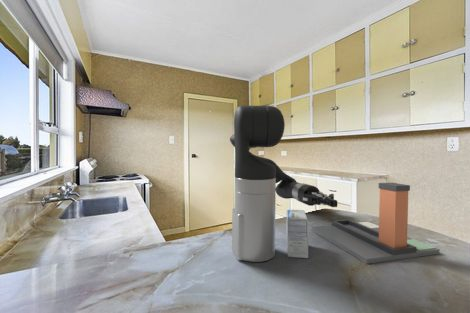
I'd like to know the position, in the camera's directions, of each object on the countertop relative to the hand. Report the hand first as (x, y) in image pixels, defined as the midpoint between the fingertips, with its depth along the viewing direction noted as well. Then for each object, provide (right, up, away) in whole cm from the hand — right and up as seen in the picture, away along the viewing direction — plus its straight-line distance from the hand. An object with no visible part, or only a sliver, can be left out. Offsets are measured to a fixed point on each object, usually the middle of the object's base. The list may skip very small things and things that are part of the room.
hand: (335, 204), depth 70 cm
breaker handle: (+4, -6, -19) cm, 21 cm away
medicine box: (-18, -7, -18) cm, 26 cm away
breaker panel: (+3, -7, -13) cm, 14 cm away
